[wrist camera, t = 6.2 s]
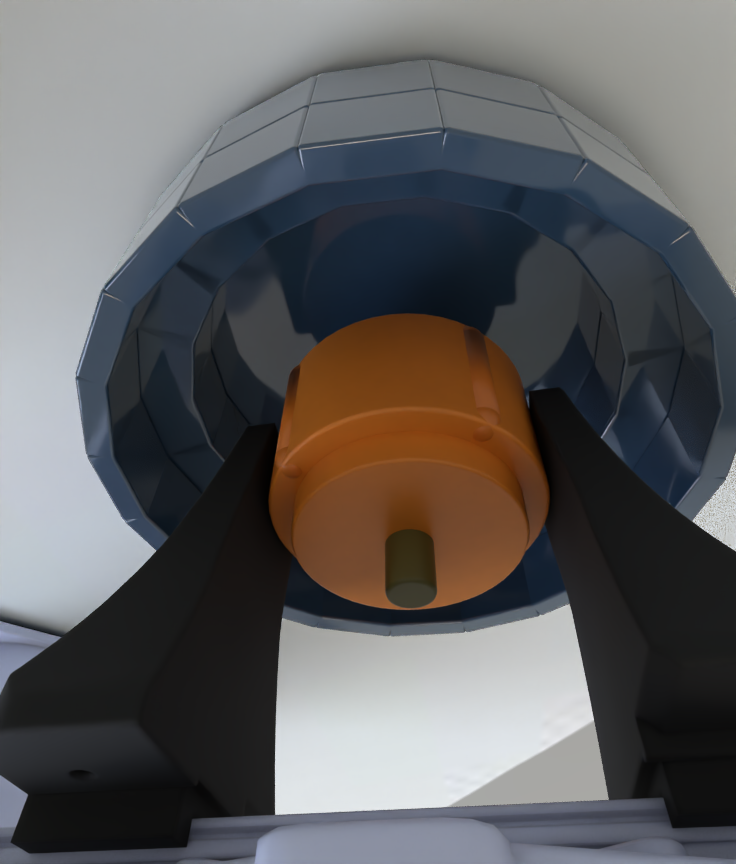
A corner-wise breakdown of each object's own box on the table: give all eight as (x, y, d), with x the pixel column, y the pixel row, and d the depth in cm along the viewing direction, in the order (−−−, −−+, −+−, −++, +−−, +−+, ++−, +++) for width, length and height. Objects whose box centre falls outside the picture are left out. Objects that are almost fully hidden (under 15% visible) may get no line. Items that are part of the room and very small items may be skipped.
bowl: (467, 557, 23) (481, 679, 19) (87, 416, 19) (23, 540, 15) (795, 254, 15) (914, 371, 12) (267, -106, 11) (216, -84, 7)
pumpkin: (438, 509, 18) (455, 699, 14) (246, 434, 16) (201, 627, 12) (577, 363, 14) (651, 559, 10) (354, 248, 13) (341, 431, 9)
